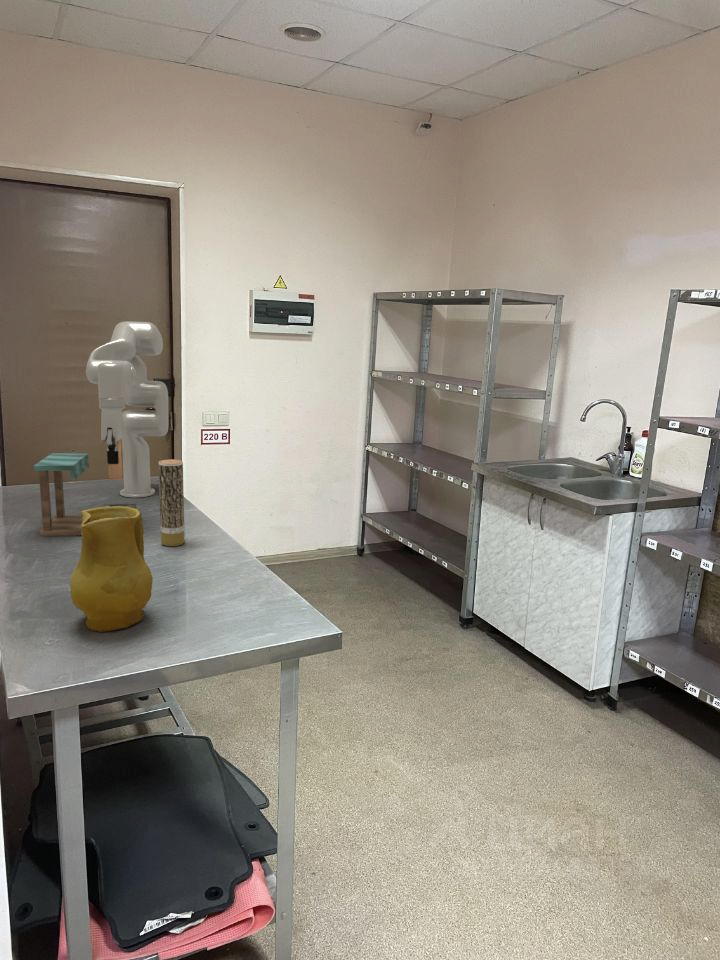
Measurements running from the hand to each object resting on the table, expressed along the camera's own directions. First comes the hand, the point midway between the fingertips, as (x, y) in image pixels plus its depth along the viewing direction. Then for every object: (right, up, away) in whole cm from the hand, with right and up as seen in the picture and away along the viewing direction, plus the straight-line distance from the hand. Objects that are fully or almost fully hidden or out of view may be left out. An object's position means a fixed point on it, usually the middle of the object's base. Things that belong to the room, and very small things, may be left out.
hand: (114, 461), depth 211 cm
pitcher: (+22, -37, -59) cm, 73 cm away
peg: (0, -5, +1) cm, 5 cm away
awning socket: (-8, -21, +4) cm, 23 cm away
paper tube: (+20, -25, -8) cm, 33 cm away
